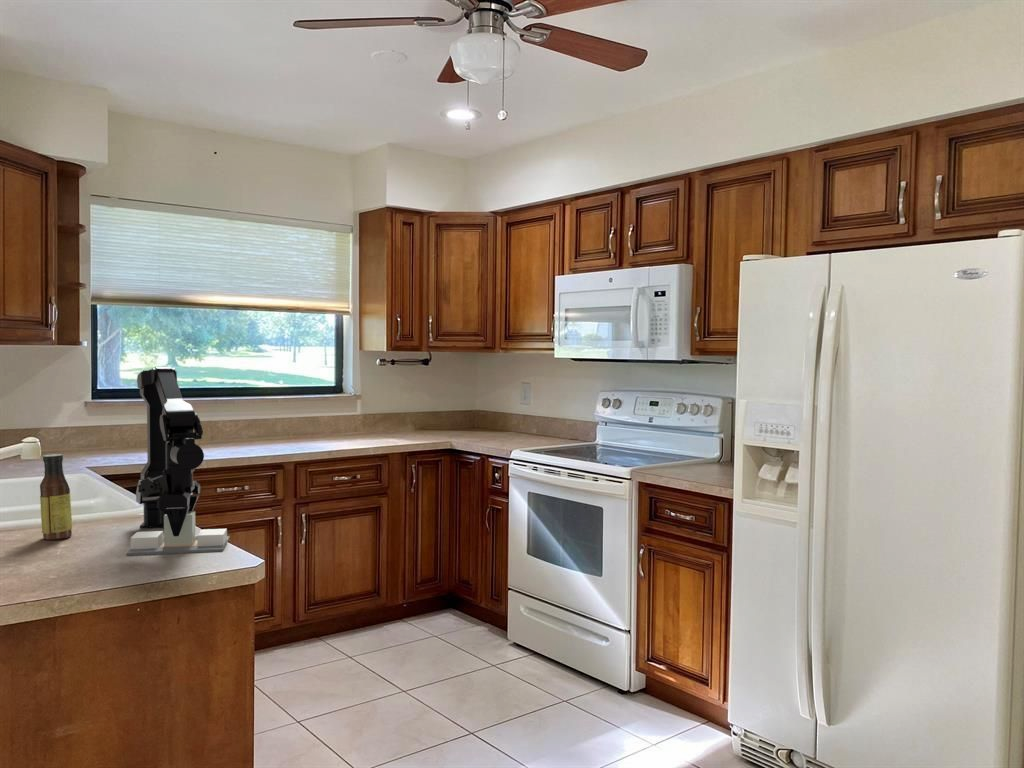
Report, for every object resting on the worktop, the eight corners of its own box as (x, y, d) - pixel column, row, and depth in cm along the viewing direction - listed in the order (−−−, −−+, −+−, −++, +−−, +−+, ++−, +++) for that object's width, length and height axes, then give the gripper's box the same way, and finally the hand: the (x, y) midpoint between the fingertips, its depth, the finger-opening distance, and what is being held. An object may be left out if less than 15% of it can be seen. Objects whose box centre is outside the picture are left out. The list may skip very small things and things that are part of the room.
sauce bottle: (77, 534, 191) (76, 453, 190) (63, 541, 185) (62, 456, 184) (49, 534, 191) (48, 452, 190) (35, 540, 185) (33, 456, 184)
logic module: (167, 542, 182) (167, 511, 182) (195, 540, 184) (195, 510, 183) (164, 546, 179) (163, 515, 178) (192, 545, 180) (192, 514, 180)
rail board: (139, 542, 185) (139, 529, 185) (229, 538, 189) (229, 525, 189) (126, 555, 173) (126, 541, 173) (222, 551, 178) (222, 537, 177)
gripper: (150, 458, 188) (151, 523, 188) (131, 471, 169) (131, 543, 170) (200, 457, 190) (200, 522, 191) (186, 469, 172) (187, 540, 173)
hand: (179, 531), depth 181 cm, fingers open, 9 cm apart
